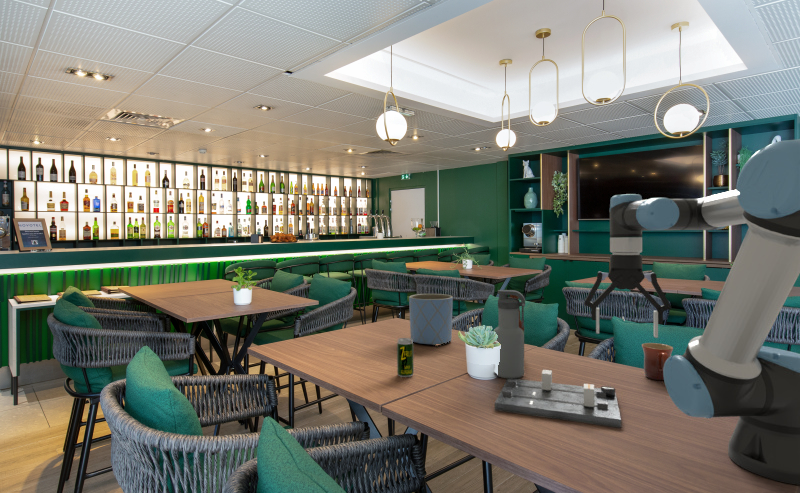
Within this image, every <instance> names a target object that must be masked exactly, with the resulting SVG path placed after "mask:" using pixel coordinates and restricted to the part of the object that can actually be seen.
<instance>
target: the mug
mask: <svg viewBox="0 0 800 493" xmlns="http://www.w3.org/2000/svg"><path fill="white" fill-rule="evenodd" d="M641 348H642V350H643V356H644V358H643V372H644V375H645V377H647V379H650V380H653V381H659V380H664V375H663V369H664V364H665V362H666V360H667V359H668V358H669V357H671V356H672V352H673V351H674V346H671V345H668V344H664V343H657V342H656V343H655V342H645V343H642V344H641Z"/></svg>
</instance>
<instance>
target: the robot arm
mask: <svg viewBox="0 0 800 493" xmlns="http://www.w3.org/2000/svg"><path fill="white" fill-rule="evenodd" d="M608 212H609V236H610V237H609V252H610V253H612V254H610V256H609V272H602V271H598V272H597V275H596V281H595V282H594V284H593V286H592V287H591V289H590V292H589V293H588V295H587V297H586V298H585V300H584V302H583V304H584V306H585V307H588V308H590V310H591V313H590V314H591V315H590V316H591V320H592V321H595V334H597V335H598V334H600V307H598V306H600V304H601V303H603V301H604V300H605V299H606V298H607V297H608V296H609V295H610V294H611V293H612V292H613V291H614V290H615V289H616V288H617V289H619V290H629V291H631V290H632V291H633V290H635V289H637V290H638V291H639V292H640V293H641V294H642V295H643V296H644V298H645V299H647V301H649V303H650V304H651V305H652V306H653V307H654V308H655V310H653V337H654V338H656V339H658V338H659V325H663V323H664V312H666V311H669V310H671V309H672V305H671V303H670V302H669V300H668V298H667V297H666V295H665V293H664V291H663V289H662V287H660V284H659V283H658V278H657V274H656V273H655V272H653V271H652V272H650V273H644V272H643V256H642V254H640V253H642V252H643V231H653V232H655V231H716V230H717V231H718V230H722V229H725V228H726V227H729V226H737V225H742V224H743V225H744V224H746V225H747V226H748V227H747V228H748V229H747V230H746V233H745V235H744V238H743V240H742V242H741V244H740V247H739V250H738V252H737V254H736V256H735V259H734V261H733V264H732V266H731V268H730V270H729V273H728V275H727V276H726V279H725V282H724V284H723V287H722V289H721V292H720V294H719V296H718V298H717V300H716V302H715V305H714V307H713V310H712V313H711V314H710V316H709V319H708V321H707V324H706V327H705V328H704V331H703V334H702V335H698V336H694V337H692V338H691V339H690V340H689V342H688V344H687V347H686V348H685V352H684V353H683V354H682V355H679V354H674V355H671V357H669V358H668V359H667V360H666V362H665V364H664V369H663V375H664V385H665V388H666V391H667V394H668V395H669V398H670V400H672V402H673V404H674V405H675V406H676V407H677V409H678V410H679V411H681V412H682V413H683V414H685V415H686V416H689V417H692V418H705V419H713V418H714V419H715V418H732V417H738V421H737V422H736V425H735V428H734V430H733V432H732V435H731V437H730V438H729V441H728V444H727V446H728V447H727V448H728V451H727V452H728V456H729V458H730V460H731V461H732V462H733V463H735V464H736V465H738V466H739V467H741V468H742V469H745V470H747V471H749V472H751V473H753V474H755V475H758V476H761V477H764V478H767V479H769V480H774V481H777V482H780V483H785V484H790V485H797V486H799V485H800V353H799V352H793V351H790V350H787V349H785V350H784V349H780V348H776V347H771V346H766V345H764V343H765V341H766V339H767V337H768V335H769V333H770V331H771V330H772V328H773V326H774V323H775V322H776V320H777V318H778V316H779V314H780V312H781V311H782V309H783V306H784V304H785V303H786V300H787V298H788V296H789V294H790V293H791V290H793V287H794V285H795V283H796V281H797V279H798V278H799V276H800V138H797V139H790V140H789V139H788V140H787V139H785V140H780V141H779V140H778V141H776V142H773V143H770V144H768V145H766V146H765V147H762V148H761V149H759V150H757V151H755V153H754V154H752V155H751V157H749V158H748V160H746V162H745V164H744V165H743V166H742V168H741V170H740V172H739V175H738V177H737V180H736V189H734V190H733V189H732V190H730V191H725V192H721V193H717V194H711V195H709V196H706V197H705V196H704V197H700V198H668V197H650V198H648V199H647V198H646V199H643V198H642V195H641V194H639V193H638V194H636V193H626V194H615V195H613V196H612V197H610V204H609V211H608ZM606 278H608V279H609V280H610V282H611V283H610V284H609V286H608V287H607V288H605V290H603V292H602V293H601V294H600V295H599V296H598V297H597V298H596V299H595V300H594V301H592V300H593V298H594V296H595V294H596V292H597V291H598V289H599V287H600V286H601V283H602V281H605V280H606ZM644 279H646V280H647V281H648V282H650V283H651V285H652V287H653V289H654V290H655V292H656V293H657V295H658V297H659V299H660V300H661V302H662V305H660V304H659V303H658V301H657V300H656V299H655V298H654V297H653V296H652V295H651V294H650V293H649V292H648V291H647V290H646V289H645V288H644V287H643V285H642V284H641V283H642V282H643V280H644Z"/></svg>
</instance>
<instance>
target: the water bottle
mask: <svg viewBox="0 0 800 493" xmlns="http://www.w3.org/2000/svg"><path fill="white" fill-rule="evenodd" d="M497 294H498V299H497V309H498V326H497V327H495V328H494V330H493V332H494V331H495V332H496V333H497V335H498V338H497V341H498V342H499V343H500V344H501V349H500V362H499V365H498V376H497V377H499V378H502V379H506V380H507V379H508V378H512V379H520V378H522V377H523V376H524V374H525V331H524V332H523V330H522V329H521V328H519V309H520V307H521V321H522V328H524V329H525V323H524V322H525V320H524V317H525V316H524V314H525V306H526V299H525V296H524V295H523V294H522V293H521V292H520V291H518V290H513V289H498V290H497ZM510 295H515V296H517V297H518V298H519V299H516V298H510Z"/></svg>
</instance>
